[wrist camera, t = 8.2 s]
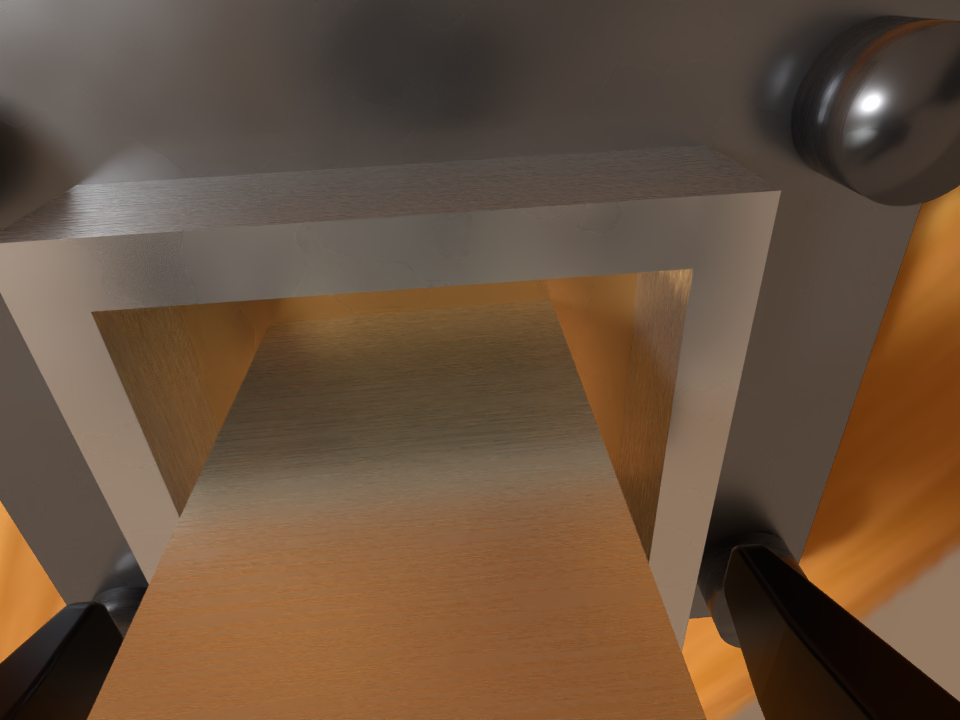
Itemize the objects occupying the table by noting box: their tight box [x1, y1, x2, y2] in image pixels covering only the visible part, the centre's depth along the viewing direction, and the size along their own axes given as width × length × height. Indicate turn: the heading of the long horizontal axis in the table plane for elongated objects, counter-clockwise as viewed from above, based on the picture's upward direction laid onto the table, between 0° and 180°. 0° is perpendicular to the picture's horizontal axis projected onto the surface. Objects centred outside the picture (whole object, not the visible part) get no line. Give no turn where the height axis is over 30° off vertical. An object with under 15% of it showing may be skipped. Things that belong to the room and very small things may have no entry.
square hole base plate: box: [0, 0, 960, 652], centre depth 12 cm, size 18×15×4 cm
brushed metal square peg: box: [87, 300, 706, 720], centre depth 9 cm, size 5×6×9 cm
